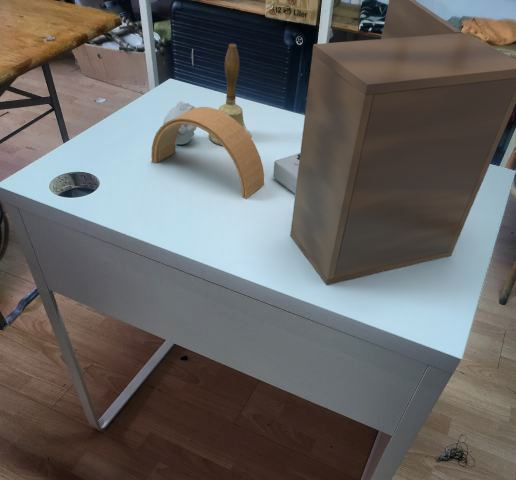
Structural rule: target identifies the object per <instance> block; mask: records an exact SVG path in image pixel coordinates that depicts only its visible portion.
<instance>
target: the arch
mask: <svg viewBox="0 0 516 480" xmlns="http://www.w3.org/2000/svg"><path fill="white" fill-rule="evenodd" d="M182 124H186V125H192V126H196V127H197V128H199V129H201V130H202V131H204V132H206V133H208V135H209V134H210V135H212V136H213V137H214V138H215V139H216V140H217V141H219V142H220V143H221V145H220V146H222V148H224V150H225V151H226V153H227V154H228V155H229V157H230V159H231V160H232V162H233V165H234V166H235V168H236V171H237V174H238V177H239V181H240V187H241V197H242V198H244V199H245V200H247V199H248V198H249V197H251V196H252V195H254V193H255V192H257V191H259V189H261V188H263V187H264V186H265V172H264V165H263V162H262V159H261V156H260V155H261V154H260V152H259V151H258V148H257V146H256V144H255V142H254V140H253V139H252V138H250V136H249V135H248V133H247V132H246V131H245V130H244V128H243V127H242V126H241V125H240V124H239V123H238V122H237V121H236V120H234V119H233V118H232V117H230V116H229V115H227V114H226V113H224V112H222V111H220V110H219V109H217V108H214V107H210V106H209V107H208V106H198V107H195V108H193V109H191V110H189V111H187V112H185V113H183V114H181V115H179V116H177V117H176V118H174V119H172V120H170V121H168V122H166V123H165V124H162V125H161V126H160V127H159V128H158V130H157V131H156V133H155V135H154V137H153V140H152V145H151V153H150V154H151V155H150V156H151V157H150V158H151V162H152V163H154V164H158V163H159V162H162V161H164V160H166V159H167V158H168V157H170V156H172V155H173V154H174V153H176V137H177V133H178V131H179V129H180V127H181V125H182Z"/></svg>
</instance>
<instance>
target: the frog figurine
mask: <svg viewBox="0 0 516 480" xmlns="http://www.w3.org/2000/svg"><path fill="white" fill-rule="evenodd" d="M193 108H196V106H194V105H192V104H190V103H188V102H185V101H178V102H177V103H176V105H175V106H173V107H172V108H170V109H169V110H168V112H167V113H166V115H165V116H164V118H163V121H162V122H163V123H162V125H164V124H165V123H166V122H168V121H170V120H172V119H174V118H176V117H177V116H179V115H181V114H183V113H185V112H187V111H189V110H191V109H193ZM197 128H198V127H196V126H192V125H186V124H182V125H181V127H180V129H179V131H178V133H177V137H176V143H175V145H185V144H188V143H189V142H190V141H191V140H192V139H193V137H194V136H195V132H196V130H197Z"/></svg>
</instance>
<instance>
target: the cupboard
mask: <svg viewBox="0 0 516 480" xmlns="http://www.w3.org/2000/svg"><path fill="white" fill-rule="evenodd" d="M306 96H307V97H306V104H305V111H304V119H303V120H304V121H303V129H302V137H301V145H300V151H299V153H300V160H299V168H298V176H297V185H296V193H295V194H294V200H293V201H294V202H293V209H292V210H293V211H292V218H291V225H290V226H291V227H290V234H289V237H290V238H291V239H292V241H293V242H294V243H295V245H296V246H297V247H298V249H299V250H300V252H301V253H302V254H303V256H304V257H305V258H306V260H307V261H308V263H309V264H310V265H311V267H312V268H313V270H315V272H316V273H317V275H318V276H319V277H320V279H321V281H322V282H323V283H324V285H326V286H330V285H334V284H338V283H343V282H347V281H351V280H354V279H360V278H364V277H368V276H372V275H376V274H381V273H385V272H389V271H394V270H397V269H401V268H406V267H410V266H414V265H419V264H422V263H427V262H431V261H435V260H441V259H444V258H448V257H451V256H452V255H453V253H454V251H455V248H456V245H457V242H458V240H459V239H460V236H461V233H462V231H463V229H464V226H465V224H466V222H467V219H468V217H469V214H470V212H471V210H472V208H473V205H474V203H475V201H476V198H477V196H478V193H479V191H480V189H481V186H482V185H483V181H484V179H485V176H486V175H487V172H488V170H489V167H490V165H491V162H492V160H493V158H494V155H495V154H496V152H497V151H496V150H497V148H498V146H499V143H500V142H501V139H502V137H503V134H504V132H505V129H506V127H507V125H508V122H509V120H510V118H511V115H512V113H513V112H514V108H515V106H516V58H514V57H513V56H511V55H508V54H506V53H504V52H502V51H500V50H498V49H496V48H494V47H492V46H490V45H488V44H486V43H484V42H482V41H481V40H478V39H476V38H475V37H472V36H471V35H468V34H467V33H464V32H462V33H454V34H441V35H428V36H415V37H402V38H389V39H381V38H379V39H365V40H363V39H362V40H352V41H351V40H349V41H341V42H340V41H338V42H326V43H314V44H313V46H312V55H311V62H310V72H309V79H308V87H307V95H306Z"/></svg>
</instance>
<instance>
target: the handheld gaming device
mask: <svg viewBox="0 0 516 480" xmlns="http://www.w3.org/2000/svg"><path fill="white" fill-rule="evenodd" d="M299 160H300V152H298V153H295V154H291V155H289V156H286V157H283V158H279V159H275V160H274V163H273V175H272V178H273V179H275V180H276V181H277V182H279V184H281V185H282V186H284V187H285V188H286V189H288V190H289V191H290V192H292V193H293V194H294V195H295V193H296V185H297V176H298V168H299Z"/></svg>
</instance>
